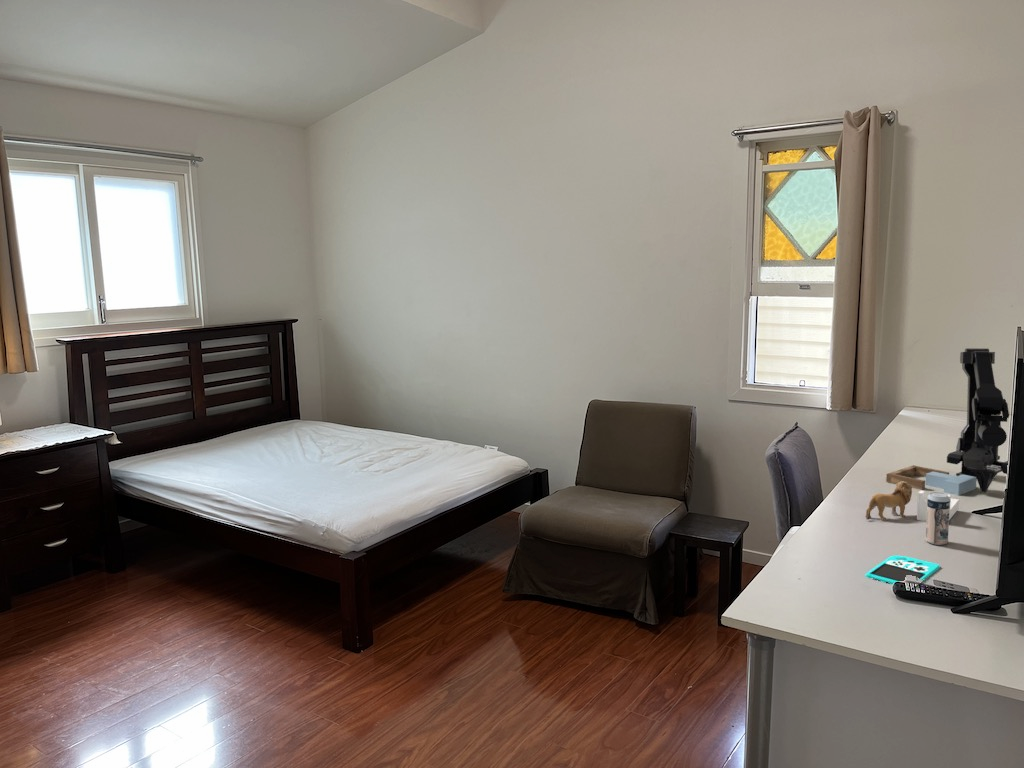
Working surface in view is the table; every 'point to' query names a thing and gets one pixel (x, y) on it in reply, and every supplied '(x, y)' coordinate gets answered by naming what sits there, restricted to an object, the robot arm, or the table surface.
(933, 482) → the t block
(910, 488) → the lion figurine
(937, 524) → the printed cylindrical canister
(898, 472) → the pocket
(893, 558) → the handheld game console
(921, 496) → the bracket
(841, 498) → the table surface
